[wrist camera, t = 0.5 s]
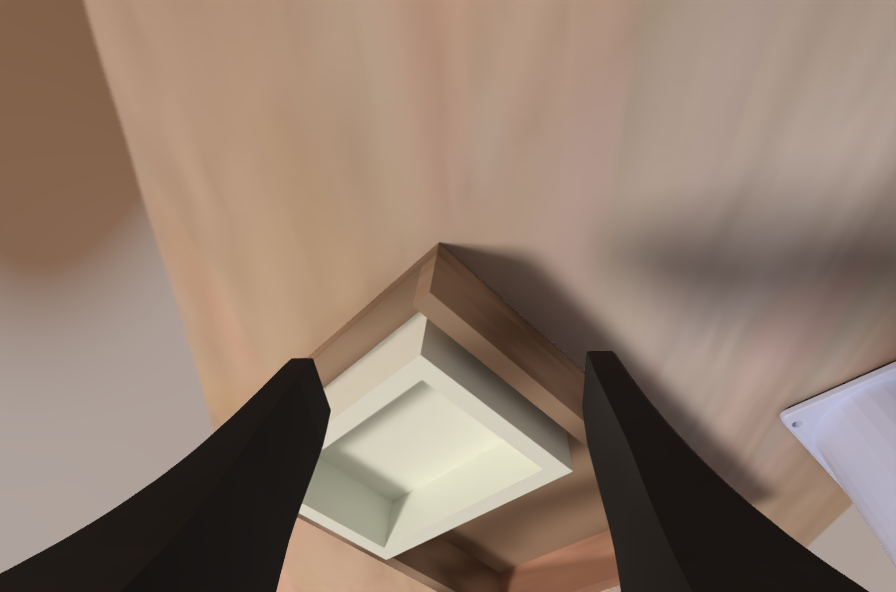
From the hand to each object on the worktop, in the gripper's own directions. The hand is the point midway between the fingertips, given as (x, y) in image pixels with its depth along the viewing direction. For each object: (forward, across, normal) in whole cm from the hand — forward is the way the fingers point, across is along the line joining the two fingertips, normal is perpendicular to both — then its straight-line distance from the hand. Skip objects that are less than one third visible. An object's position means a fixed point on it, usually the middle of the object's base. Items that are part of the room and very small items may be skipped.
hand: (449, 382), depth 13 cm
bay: (+10, +1, +16) cm, 19 cm away
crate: (+9, +4, +12) cm, 15 cm away
